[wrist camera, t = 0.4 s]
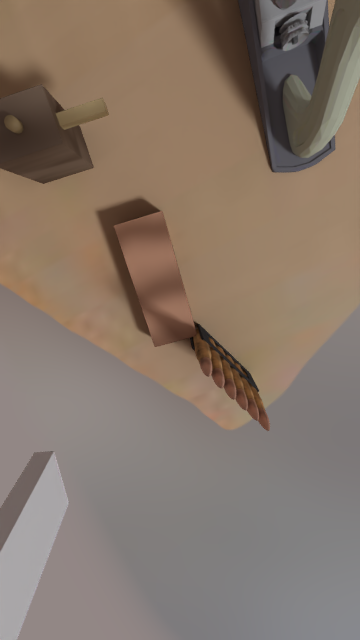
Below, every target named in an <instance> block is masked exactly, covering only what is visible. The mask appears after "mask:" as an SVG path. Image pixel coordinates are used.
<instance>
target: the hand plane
mask: <svg viewBox="0 0 360 640" xmlns="http://www.w3.org/2000/svg"><path fill="white" fill-rule="evenodd" d="M238 2H239V7H240V12H241V17H242V22H243V27H244V32H245V37H246V42H247V47H248V52H249V57H250V62H251V67H252V72H253V77H254V82H255V87H256V92H257V97H258V102H259V107H260V112H261V117H262V122H263V128H264V133H265V138H266V143H267V148H268V153H269V158H270V163H271V168H272V172H297V171H300V170H303V169H306V168H309V167H311V166H313V165H315V164H317V163H318V162H320V161H321V160H322V159H324V158H325V157H326V156H327V155H329V154H330V153H331V152H333V151H334V150H335V133H336V132H337V130H338V128H339V127H340V125H341V124H342V122H343V120H344V117H345V114H346V112H347V109H348V107H349V104H350V101H351V99H352V96H353V94H354V91H355V88H356V86H357V83H358V81H359V78H360V0H336V1H335V5H334V9H333V13H332V17H331V22H330V26H329V18H328V0H238Z"/></svg>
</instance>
